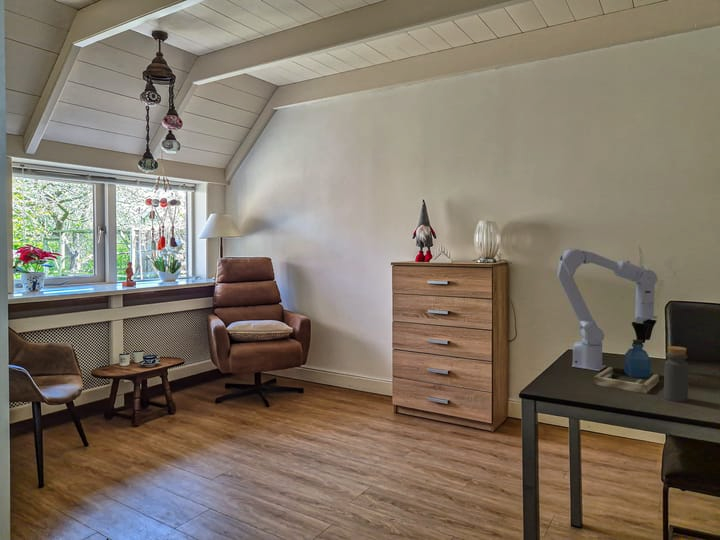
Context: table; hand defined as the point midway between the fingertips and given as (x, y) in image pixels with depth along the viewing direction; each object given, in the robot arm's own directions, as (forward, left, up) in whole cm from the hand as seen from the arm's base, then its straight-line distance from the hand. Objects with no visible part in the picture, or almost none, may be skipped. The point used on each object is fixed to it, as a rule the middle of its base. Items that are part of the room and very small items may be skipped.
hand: (643, 341), depth 176 cm
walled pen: (0, -21, -10) cm, 24 cm away
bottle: (+15, -30, -11) cm, 36 cm away
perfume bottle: (0, -8, -11) cm, 14 cm away
